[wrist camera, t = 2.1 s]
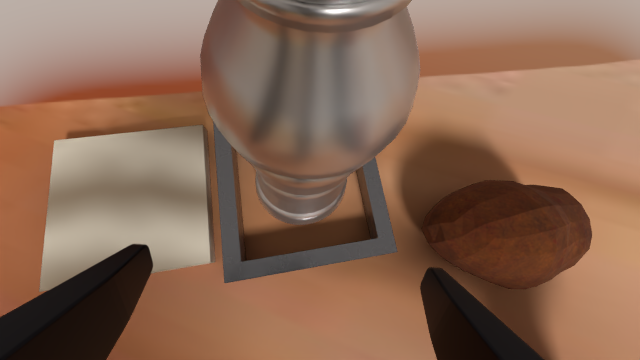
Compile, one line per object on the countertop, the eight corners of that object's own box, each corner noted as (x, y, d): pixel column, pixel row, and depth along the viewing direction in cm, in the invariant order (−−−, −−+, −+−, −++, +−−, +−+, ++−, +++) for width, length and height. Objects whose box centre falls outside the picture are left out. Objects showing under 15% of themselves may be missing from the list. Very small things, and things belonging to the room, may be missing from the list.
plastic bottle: (253, 163, 23) (3, -363, 3) (328, 146, 24) (470, -332, 4) (270, 238, 21) (-13, 54, 2) (350, 215, 22) (715, -51, 3)
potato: (551, 267, 22) (683, 274, 15) (424, 297, 21) (499, 320, 13) (517, 181, 24) (618, 147, 17) (399, 202, 23) (451, 176, 15)
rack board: (215, 262, 20) (210, 262, 19) (54, 289, 19) (39, 291, 18) (207, 131, 23) (202, 124, 22) (67, 146, 22) (54, 140, 20)
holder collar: (388, 252, 21) (397, 252, 20) (231, 280, 20) (224, 283, 18) (357, 115, 25) (362, 104, 23) (220, 131, 23) (213, 119, 21)
